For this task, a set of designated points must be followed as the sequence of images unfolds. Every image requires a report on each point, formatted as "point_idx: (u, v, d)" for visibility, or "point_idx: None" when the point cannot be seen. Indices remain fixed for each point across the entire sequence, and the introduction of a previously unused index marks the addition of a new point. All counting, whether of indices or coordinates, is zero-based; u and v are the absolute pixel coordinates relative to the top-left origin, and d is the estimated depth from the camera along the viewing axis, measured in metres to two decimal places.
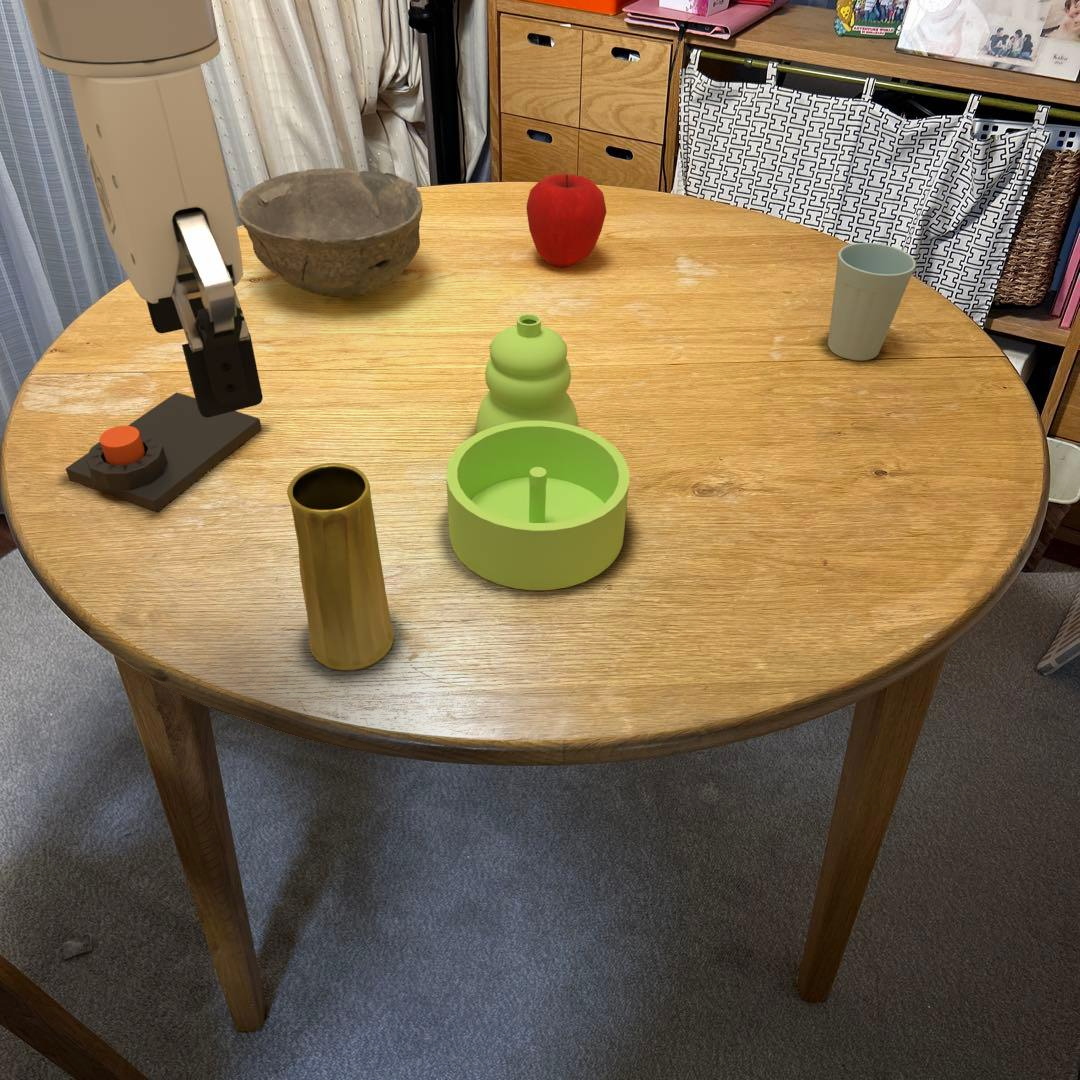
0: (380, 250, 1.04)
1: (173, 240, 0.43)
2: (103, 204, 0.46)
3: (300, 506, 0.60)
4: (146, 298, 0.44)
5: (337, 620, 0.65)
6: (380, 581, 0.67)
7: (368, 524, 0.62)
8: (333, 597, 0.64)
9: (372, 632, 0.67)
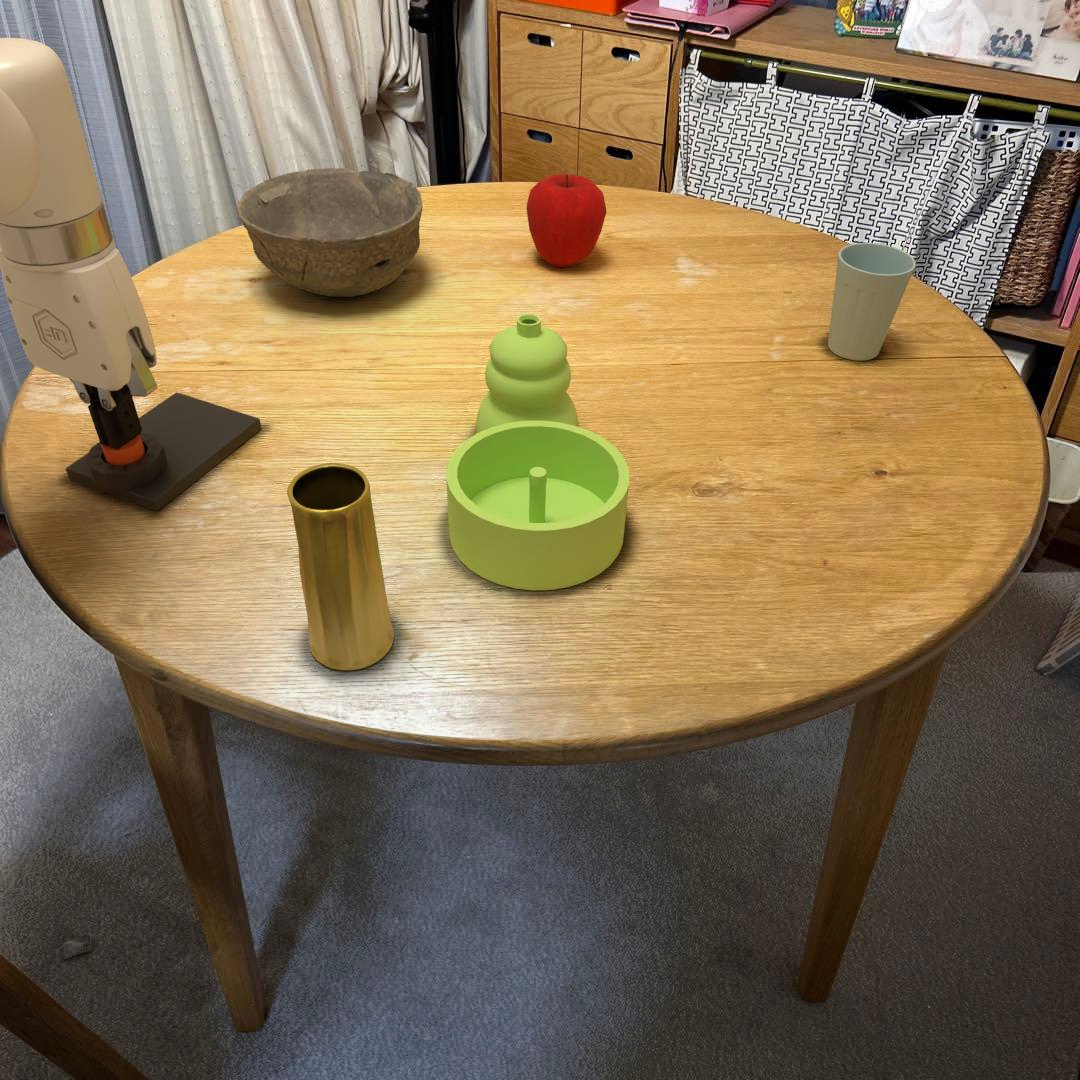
0: (380, 250, 1.04)
1: (127, 349, 0.73)
2: (49, 343, 0.73)
3: (300, 506, 0.60)
4: (114, 388, 0.74)
5: (337, 620, 0.65)
6: (380, 581, 0.67)
7: (368, 524, 0.62)
8: (333, 597, 0.64)
9: (372, 632, 0.67)
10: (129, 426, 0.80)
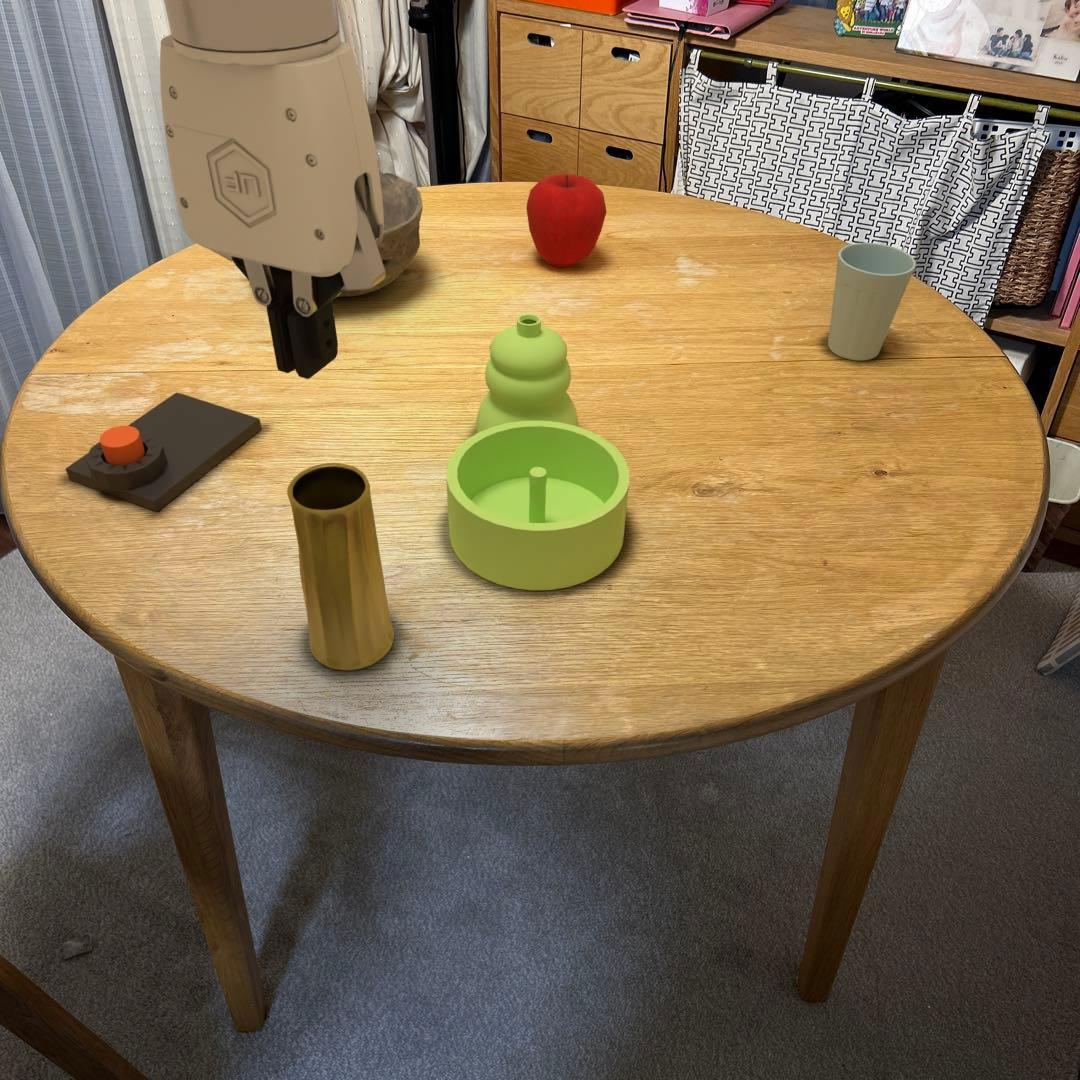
0: (380, 250, 1.04)
1: (354, 207, 0.46)
2: (228, 201, 0.47)
3: (300, 506, 0.60)
4: (330, 270, 0.47)
5: (337, 620, 0.65)
6: (380, 581, 0.67)
7: (368, 524, 0.62)
8: (333, 597, 0.64)
9: (372, 632, 0.67)
10: (327, 344, 0.54)
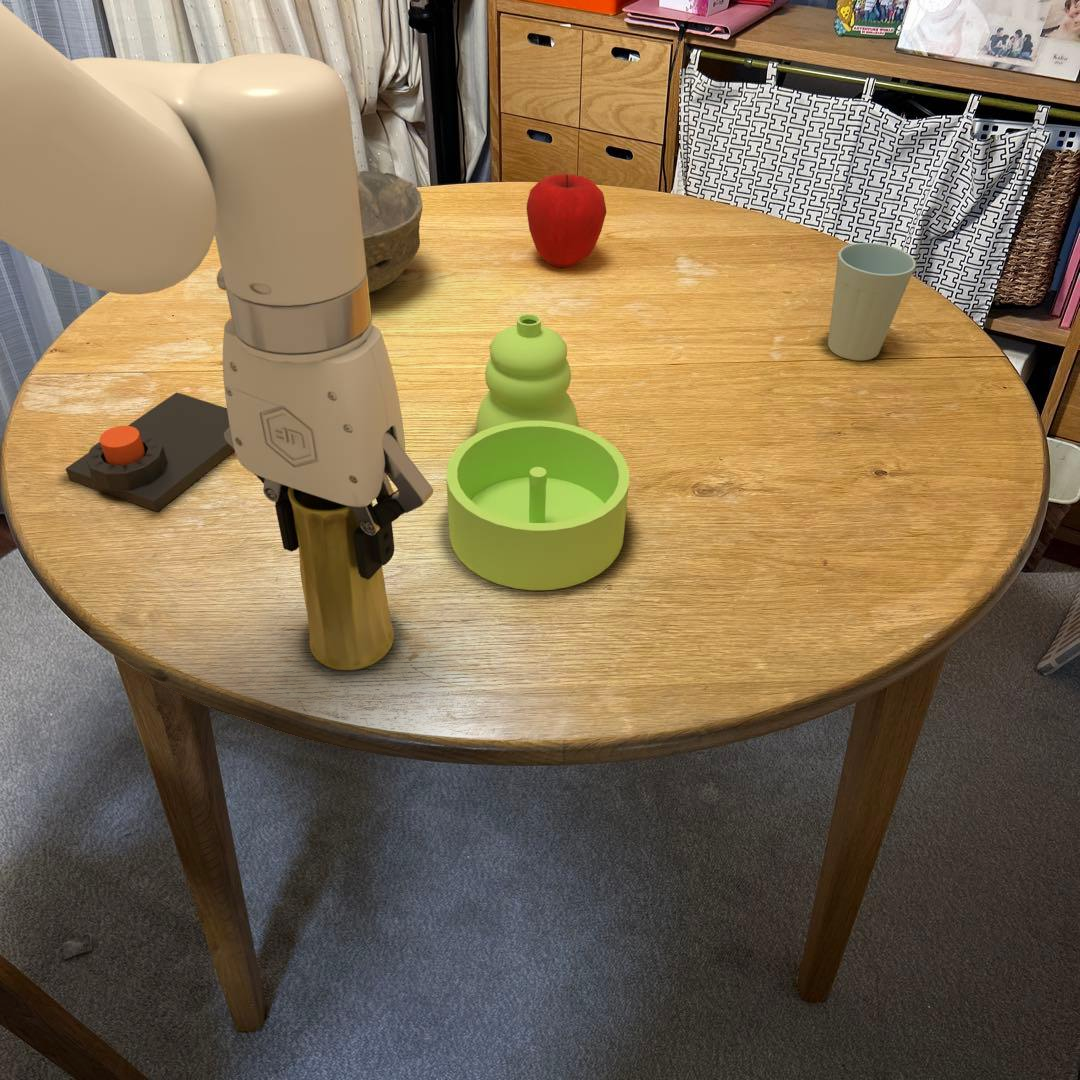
0: (380, 250, 1.04)
1: (382, 455, 0.56)
2: (277, 446, 0.57)
3: (301, 506, 0.60)
4: (361, 504, 0.57)
5: (337, 620, 0.65)
6: (380, 581, 0.67)
7: None
8: (333, 597, 0.64)
9: (372, 632, 0.67)
10: (385, 550, 0.63)
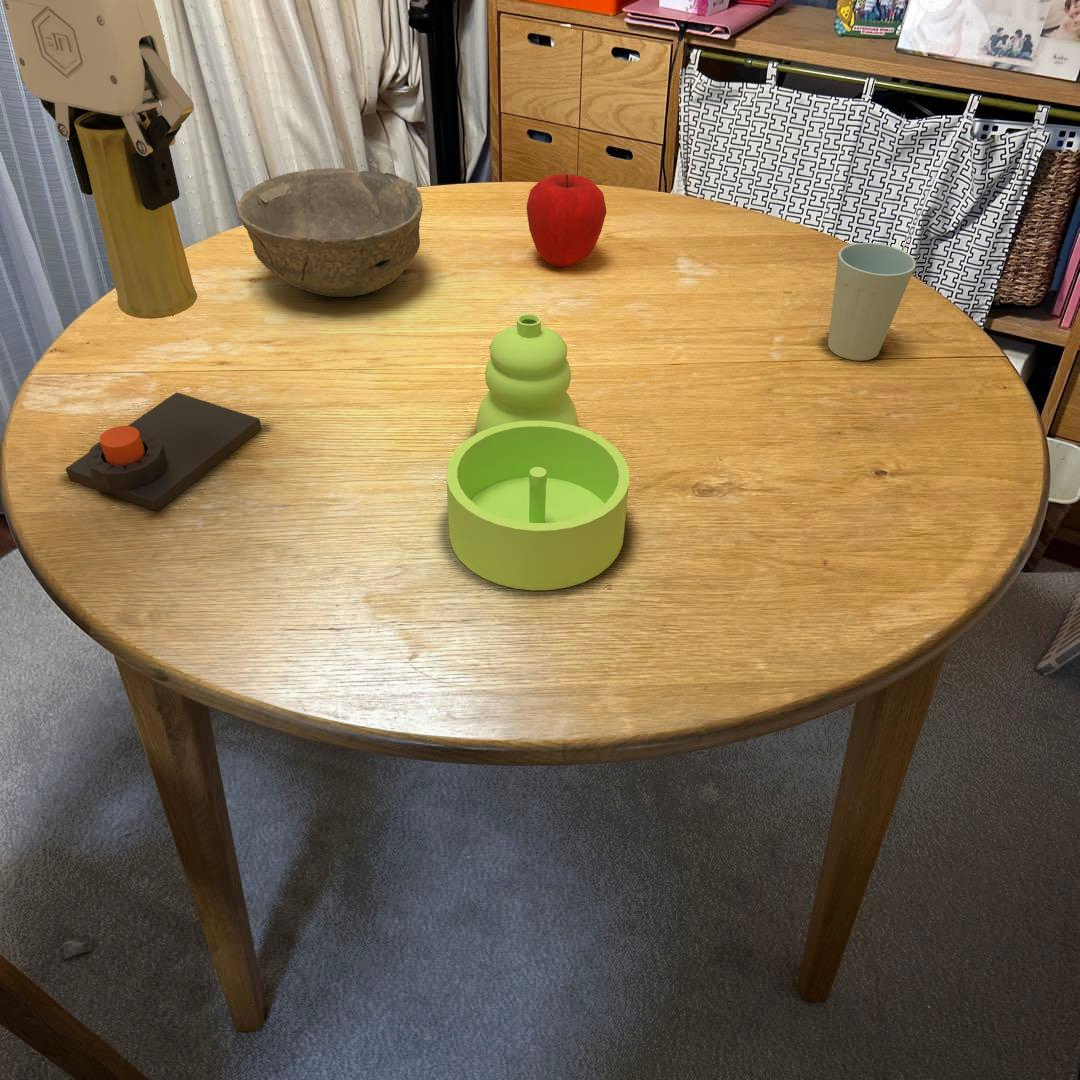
0: (380, 250, 1.04)
1: (140, 60, 0.63)
2: (50, 57, 0.64)
3: (82, 127, 0.67)
4: (125, 109, 0.64)
5: (131, 258, 0.73)
6: (174, 231, 0.74)
7: None
8: (124, 231, 0.71)
9: (167, 278, 0.75)
10: (166, 183, 0.70)
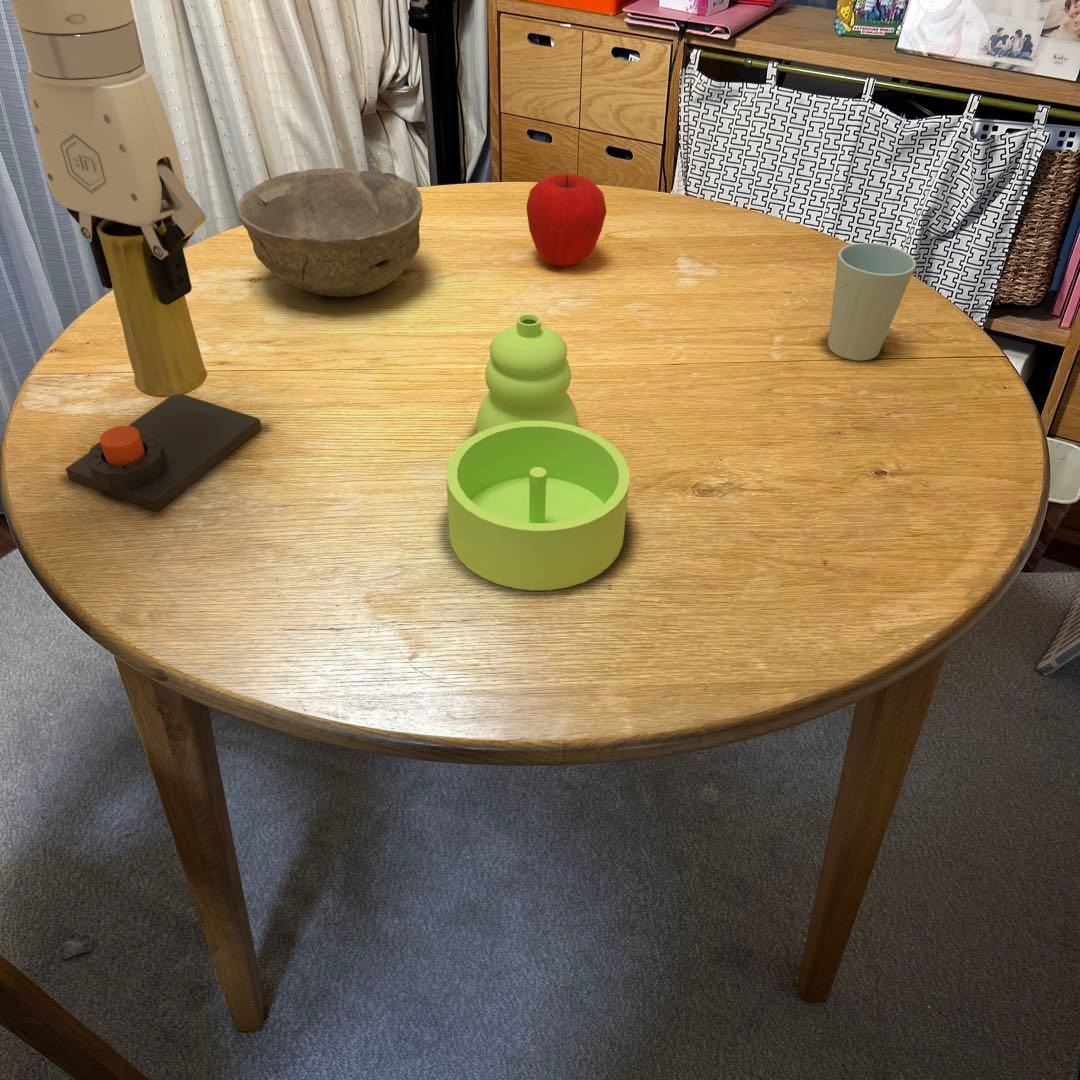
0: (380, 250, 1.04)
1: (158, 179, 0.70)
2: (76, 175, 0.71)
3: (104, 234, 0.74)
4: (144, 221, 0.71)
5: (147, 346, 0.80)
6: (186, 319, 0.81)
7: None
8: (141, 322, 0.78)
9: (181, 362, 0.82)
10: (180, 280, 0.77)
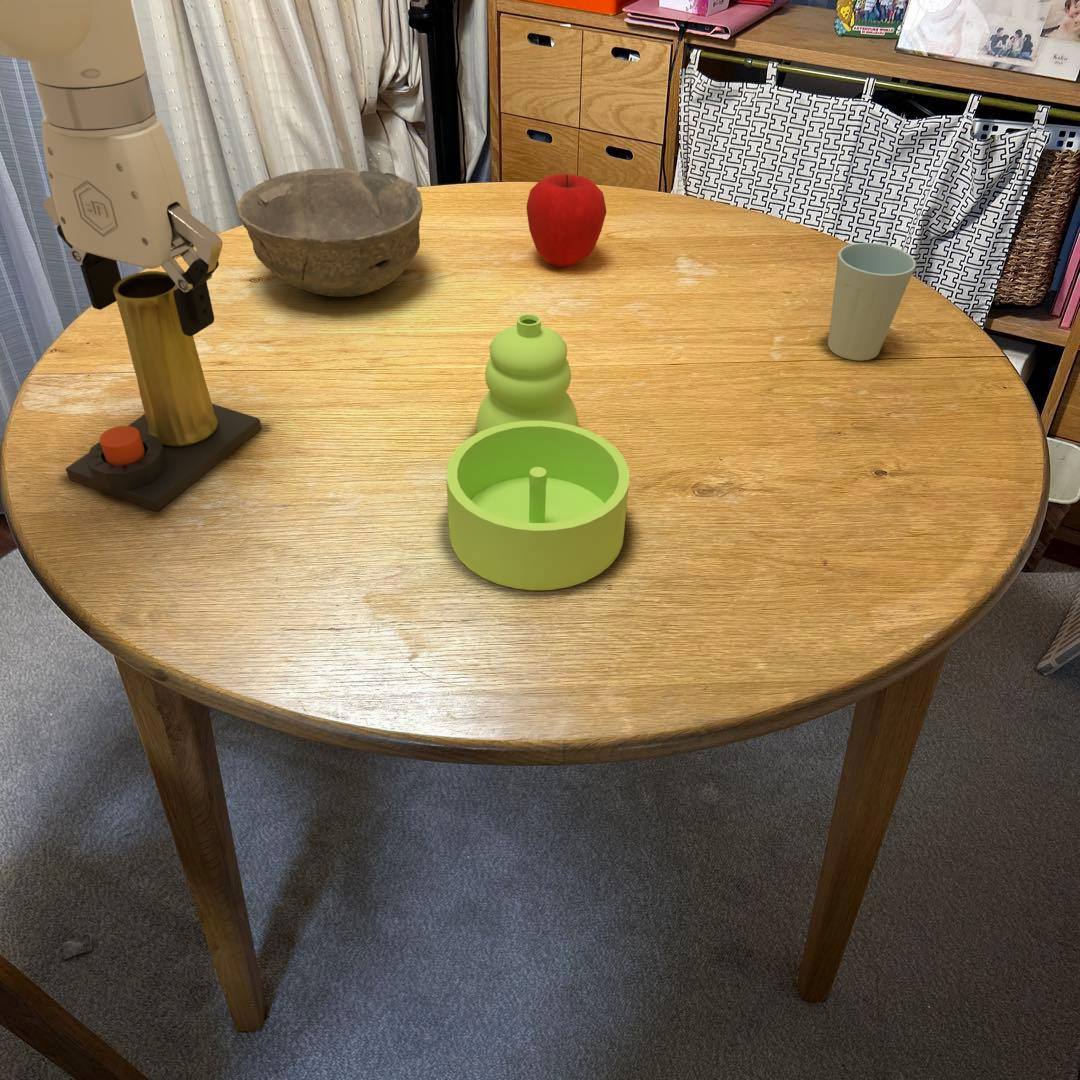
0: (380, 250, 1.04)
1: (168, 224, 0.73)
2: (89, 219, 0.73)
3: (120, 296, 0.78)
4: (154, 264, 0.73)
5: (161, 399, 0.83)
6: (198, 372, 0.85)
7: None
8: (155, 377, 0.82)
9: (193, 413, 0.85)
10: (203, 312, 0.78)
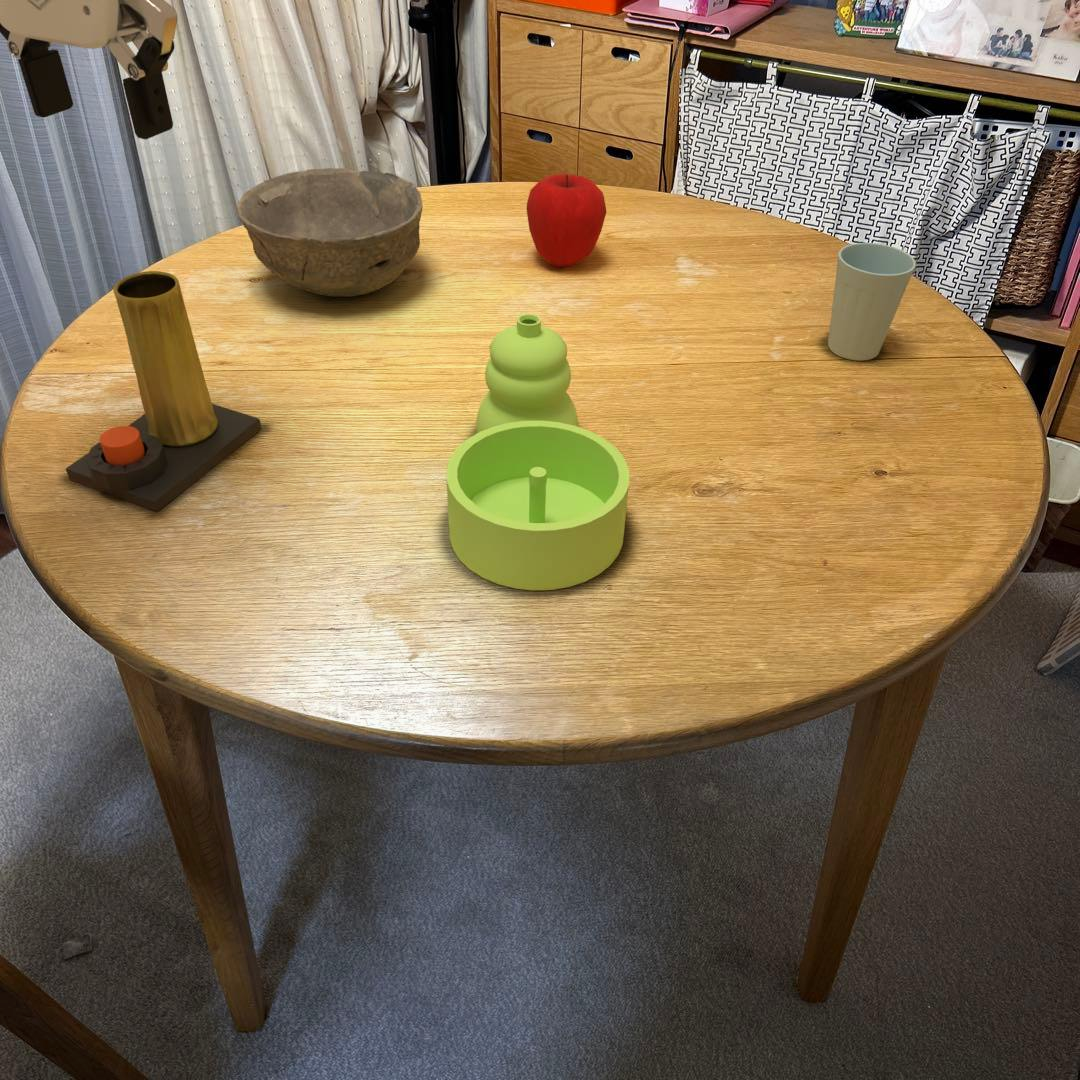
0: (380, 250, 1.04)
1: None
2: None
3: (120, 296, 0.78)
4: (99, 41, 0.63)
5: (161, 399, 0.83)
6: (198, 372, 0.85)
7: (179, 316, 0.80)
8: (155, 377, 0.82)
9: (193, 413, 0.85)
10: (159, 110, 0.68)
